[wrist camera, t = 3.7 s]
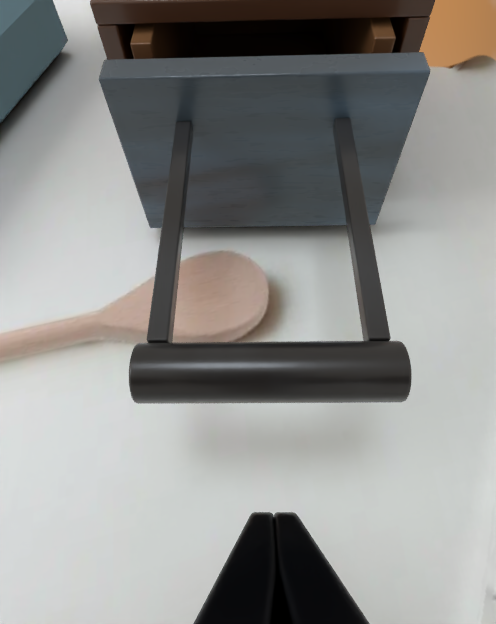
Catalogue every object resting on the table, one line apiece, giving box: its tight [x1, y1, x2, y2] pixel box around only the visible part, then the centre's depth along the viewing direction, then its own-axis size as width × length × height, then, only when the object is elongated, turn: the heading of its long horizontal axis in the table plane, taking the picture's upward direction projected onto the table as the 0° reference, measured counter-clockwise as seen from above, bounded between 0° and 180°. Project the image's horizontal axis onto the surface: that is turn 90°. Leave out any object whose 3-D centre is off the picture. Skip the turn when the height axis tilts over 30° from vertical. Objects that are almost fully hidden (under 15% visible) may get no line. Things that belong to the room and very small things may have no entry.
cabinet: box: [90, 0, 435, 60], centre depth 23 cm, size 18×13×10 cm
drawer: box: [99, 17, 430, 403], centre depth 19 cm, size 27×11×8 cm, turn 0°
